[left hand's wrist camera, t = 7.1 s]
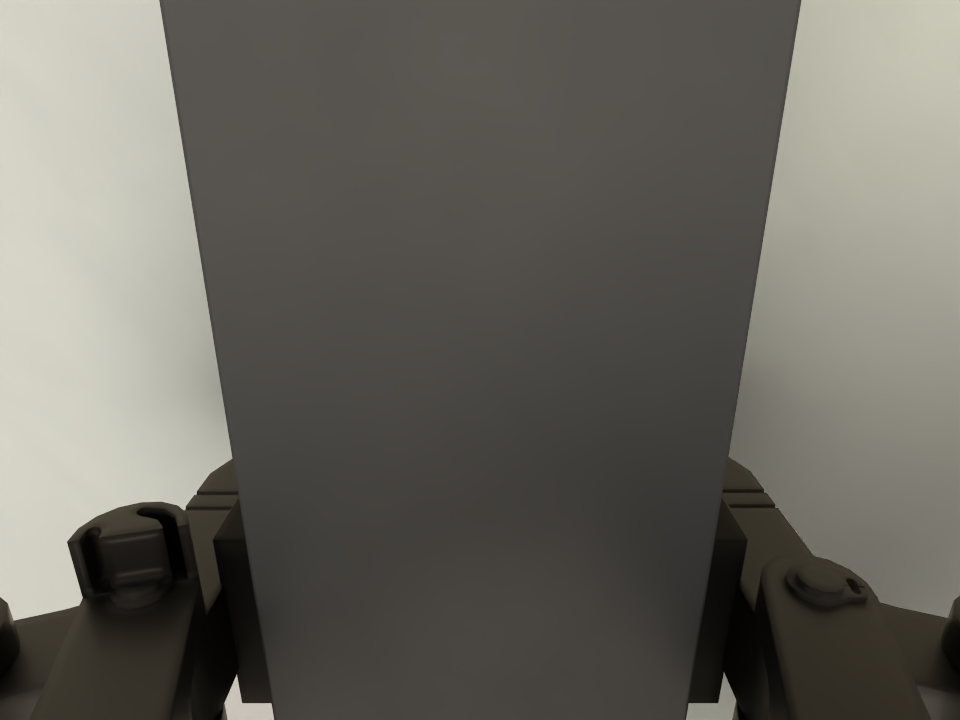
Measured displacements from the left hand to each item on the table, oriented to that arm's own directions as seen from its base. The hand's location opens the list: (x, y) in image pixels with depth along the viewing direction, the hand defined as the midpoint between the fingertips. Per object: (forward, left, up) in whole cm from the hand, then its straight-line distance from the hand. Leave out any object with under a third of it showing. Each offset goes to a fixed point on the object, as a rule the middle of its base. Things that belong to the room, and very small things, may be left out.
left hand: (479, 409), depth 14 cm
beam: (-6, +19, -1) cm, 20 cm away
